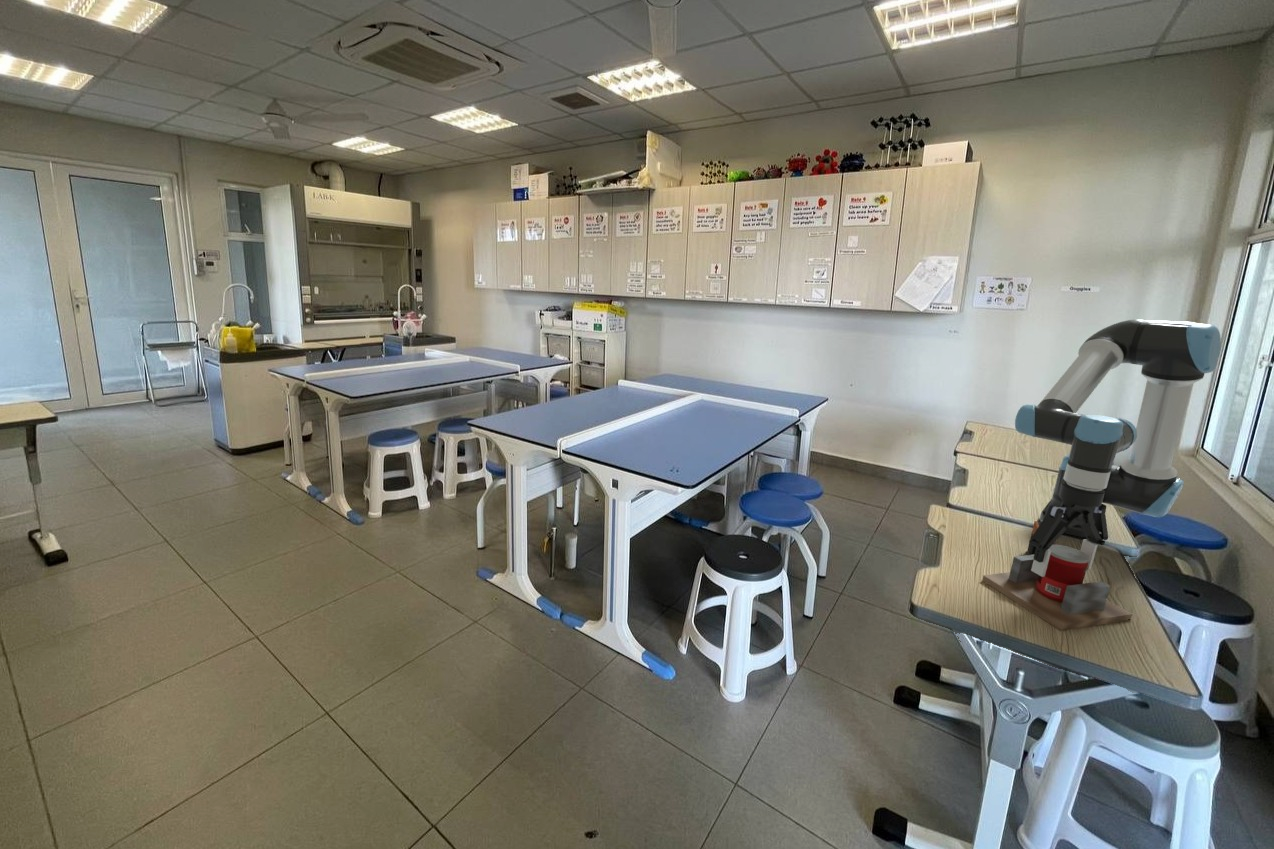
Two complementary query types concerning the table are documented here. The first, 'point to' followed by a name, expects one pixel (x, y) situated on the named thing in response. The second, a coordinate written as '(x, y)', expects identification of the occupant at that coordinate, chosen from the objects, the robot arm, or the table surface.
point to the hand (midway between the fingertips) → (1060, 570)
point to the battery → (1031, 548)
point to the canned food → (1062, 571)
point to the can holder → (1074, 612)
